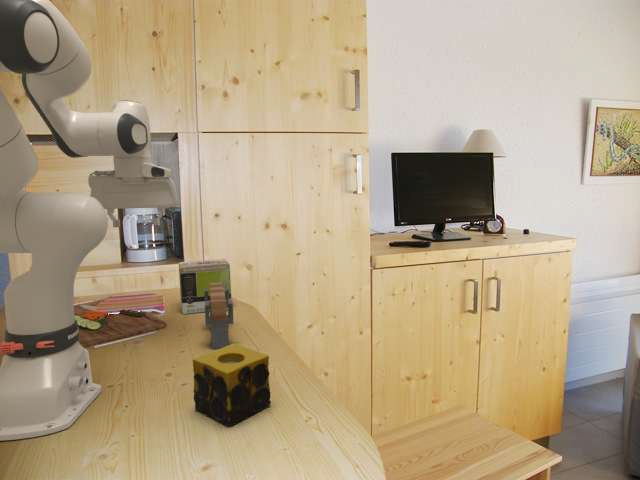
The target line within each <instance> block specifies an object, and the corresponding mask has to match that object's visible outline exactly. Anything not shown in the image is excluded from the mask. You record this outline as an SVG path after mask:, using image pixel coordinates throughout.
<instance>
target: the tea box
mask: <svg viewBox="0 0 640 480" xmlns="http://www.w3.org/2000/svg"><path fill="white" fill-rule="evenodd" d="M178 272H179V273H178V274H179V275H178V276H179V290H180V304H181V310H182V311H181V312H182V315H186V314H187V315H188V314H197V313H198V314H199V313H205V298H204V288H208V301H209V302H210V290H209V283H219V282H222V284H223V289H224V293H225V287H229V292H230V300H231V299H232V287H231V286H232V285H231V264H230V263H229V262H228V260H227V259H226V258H217V259H206V260H191V261H180V262H178ZM226 311H228V308H226ZM209 312H210V309H209Z"/></svg>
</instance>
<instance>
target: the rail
mask: <svg viewBox="0 0 640 480" xmlns="http://www.w3.org/2000/svg"><path fill="white" fill-rule="evenodd" d="M209 290H210V307H211V319H212V322H220V321H227V315H228V314H227V310H226V298H225V293H224V289H223V284H222V282H219V283H209Z"/></svg>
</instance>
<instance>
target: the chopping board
mask: <svg viewBox="0 0 640 480" xmlns="http://www.w3.org/2000/svg"><path fill="white" fill-rule="evenodd" d="M106 299H107V298H105V299H99V300H96V299H94V300H89V301H84V302H83V301H81V302H76V303H74V315H75V320H77V323H78V327H79V339H78V342H79V343H80V345H81V346H82V347H84V348H85V349H87V348H90V347H92V349H93V350H95V349H99V348H103V347H107V346H111V345H115V344H119V343H124V342H127V341H131V340H136V339H140V338H143V337H147V336H152V335H156V334H157V331H160V329H161V330H164V329H165V328H166V327H167V326H168V323H167V322H166V321H165V320H162V319H160V318H158V317H156V316H154V315H152V314H150V313H148V312H146V311H143V310H141V311H140V312H138V311H132V310H124V309H123V310H120V311H118V312H120V313H119V314H109V315H108V312H99V311H94V310H95V309H96V308H97V305H98V304H99V303H100V302H101V301H104V300H106ZM110 313H112V312H110ZM163 328H164V329H163ZM156 330H157V331H156ZM152 331H153V332H152Z"/></svg>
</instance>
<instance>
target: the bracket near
mask: <svg viewBox="0 0 640 480" xmlns="http://www.w3.org/2000/svg"><path fill="white" fill-rule="evenodd" d="M226 315H227V321H220V322H212V319H211V317H210V311H209V301H205V312H204V316H205V317H204V319H205V320H204V321H205V327H207V326H210V325H211V327H210V336H211V337H210V338H211V339H210V340H211V350H218V349H221V348H223V347H226V346H228V345H230V344H229V343H230V342H229V325H232V324H233V325H234V302H233V298H231V300H228V310H227V314H226Z"/></svg>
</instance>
